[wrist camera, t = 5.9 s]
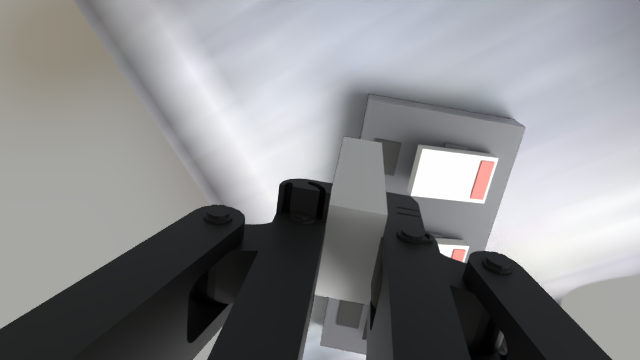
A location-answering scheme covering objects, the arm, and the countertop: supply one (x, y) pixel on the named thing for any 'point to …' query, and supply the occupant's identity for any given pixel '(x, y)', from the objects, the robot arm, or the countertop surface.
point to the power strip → (437, 214)
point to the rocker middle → (453, 248)
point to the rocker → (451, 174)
